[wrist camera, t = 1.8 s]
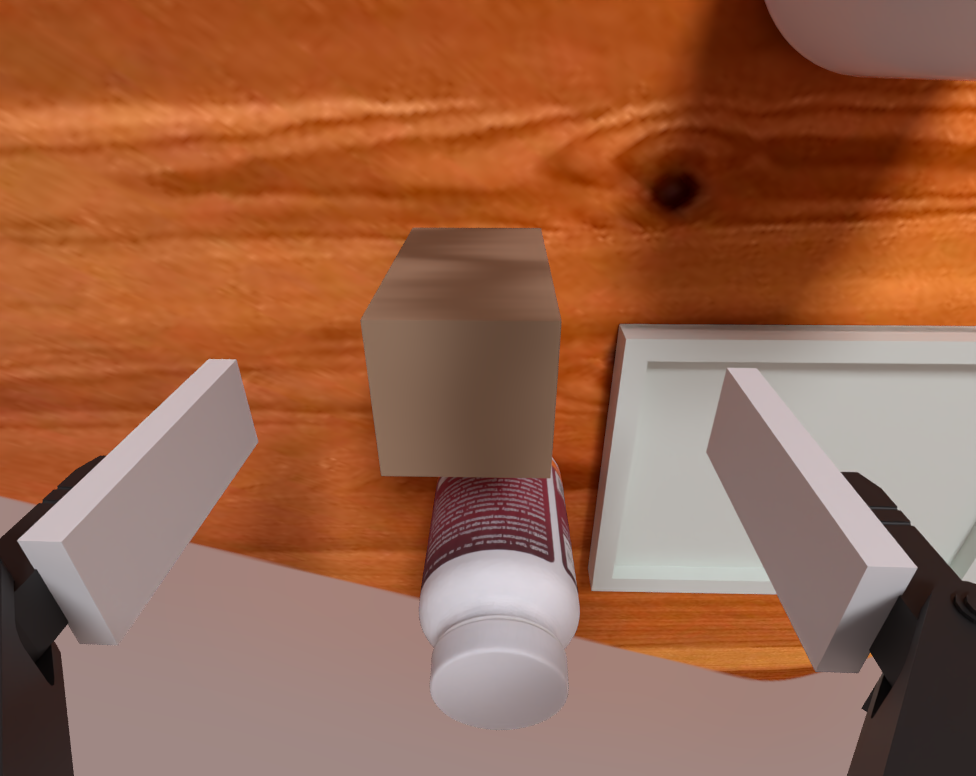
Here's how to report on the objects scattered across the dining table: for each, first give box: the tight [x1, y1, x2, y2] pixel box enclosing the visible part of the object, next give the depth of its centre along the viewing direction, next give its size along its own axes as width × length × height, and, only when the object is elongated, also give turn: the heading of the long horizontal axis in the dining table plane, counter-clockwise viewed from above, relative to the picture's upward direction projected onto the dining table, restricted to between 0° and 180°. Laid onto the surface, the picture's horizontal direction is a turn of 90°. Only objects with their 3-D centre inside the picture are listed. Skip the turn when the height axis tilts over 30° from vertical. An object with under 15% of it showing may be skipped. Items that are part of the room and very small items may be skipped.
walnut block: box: [361, 228, 561, 478], centre depth 19 cm, size 5×5×9 cm
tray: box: [588, 324, 976, 594], centre depth 26 cm, size 20×15×2 cm
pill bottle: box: [419, 457, 580, 730], centre depth 23 cm, size 6×6×11 cm
